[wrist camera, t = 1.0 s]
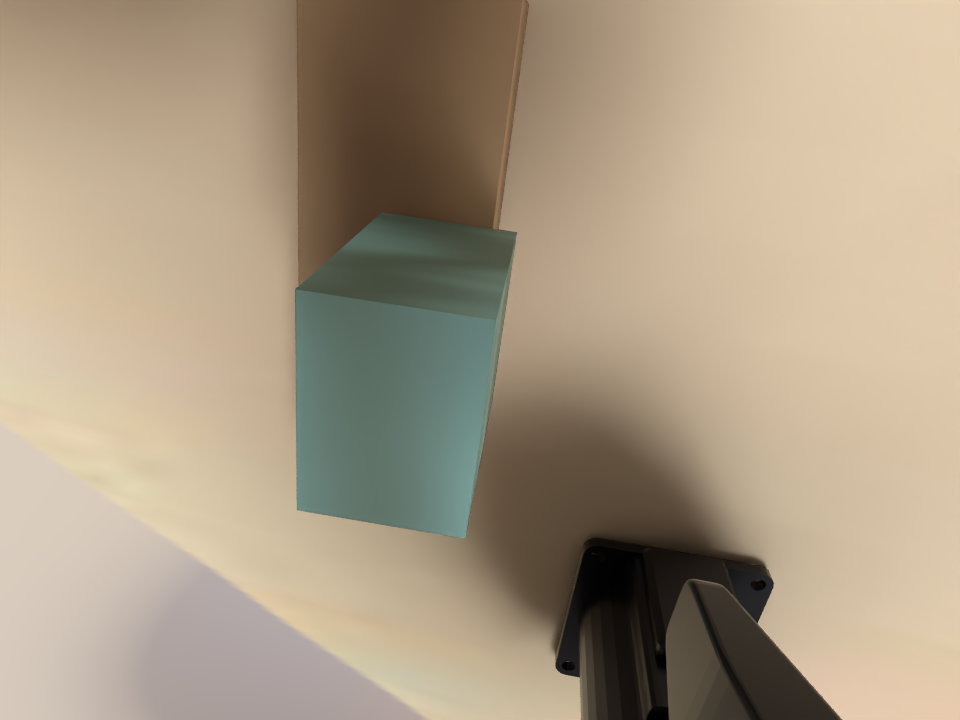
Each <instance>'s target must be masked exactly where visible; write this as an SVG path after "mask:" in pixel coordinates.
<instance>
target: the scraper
mask: <svg viewBox="0 0 960 720" xmlns="http://www.w3.org/2000/svg"><path fill="white" fill-rule="evenodd" d="M528 7H529V4H528V2H527V1H526V0H297V61H298V257H299V287H297V288H296V289H295V322H296V454H297V510H300V511H305V512H311V513H317V514H323V515H329V516H335V517H341V518H346V519H352V520H358V521H364V522H370V523H376V524H382V525H387V526H393V527H399V528H405V529H411V530H417V531H423V532H428V533H434V534H440V535H446V536H452V537H458V538H464V539H465V538H466V533H467V528H468V522H469V517H470V512H471V507H472V501H473V496H474V491H475V486H476V481H477V476H478V470H479V465H480V460H481V455H482V449H483V444H484V439H485V434H486V429H487V423H488V418H489V413H490V408H491V403H492V397H493V391H494V384H495V377H496V371H497V364H498V357H499V350H500V344H501V337H502V330H503V323H504V317H505V310H506V303H507V296H508V289H509V283H510V276H511V269H512V262H513V256H514V249H515V242H516V235H517V232H511V231H504V230H499V222H500V215H501V207H502V200H503V192H504V185H505V178H506V170H507V163H508V155H509V148H510V140H511V133H512V126H513V118H514V111H515V103H516V96H517V88H518V81H519V74H520V66H521V59H522V51H523V44H524V36H525V29H526V21H527V14H528Z"/></svg>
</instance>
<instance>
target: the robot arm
mask: <svg viewBox="0 0 960 720" xmlns="http://www.w3.org/2000/svg"><path fill="white" fill-rule="evenodd" d="M593 552H601V553H602V554H600V555H594V554H592V553H593ZM756 579H761V580H760V581H758V582H752V581H754V580H756ZM773 585H774V583H773V580H772V578H771V575H770V573H769V570H767V569H766V568H765V567H762V566H759V565H753V564H747V563H741V562H736V561H730V560H724V559H718V558H712V557H706V556H700V555H695V554H689V553H683V552H677V551H671V550H665V549H660V548H654V547H648V546H642V545H636V544H630V543H624V542H619V541H613V540H607V539H601V538H593V539H590V540H588V541H586V542H585V543H584V545H583V547H582V551H581V555H580V559H579V563H578V567H577V571H576V575H575V579H574V583H573V587H572V591H571V595H570V599H569V603H568V607H567V611H566V615H565V619H564V623H563V627H562V631H561V635H560V639H559V643H558V647H557V651H556V669H557V670H558V671H559V672H560V673H562V674H565V675H570V676H575V677H580V696H581V720H842V719H841V718H840V717H839V716H838V714H837V713H836V712H835V711H834V710H833V709H832V708H831V706H830V705H829V704H828V703H827V702H826V701H825V700H824V699H823V697H822V696H821V695H820V694H819V693H818V692H817V691H816V689H815V688H814V687H813V686H812V685H811V684H810V683H809V682H808V680H807V679H806V678H805V677H804V676H803V675H802V674H801V673H800V671H799V670H798V669H797V668H796V667H795V666H794V665H793V663H792V662H791V661H790V660H789V659H788V658H787V657H786V656H785V654H784V653H783V652H782V651H781V650H780V649H779V648H778V646H777V645H776V644H775V643H774V642H773V641H772V640H771V639H770V637H769V636H768V635H767V634H766V633H765V632H764V631H763V629H762V628H761V627H760V626H759V625H758V624H757V623H758V621H759V619H760V616H761V614H762V612H763V610H764V607H765V605H766V603H767V600H768V598H769V596H770V594H771V591H772V589H773ZM566 661H570V662H566Z"/></svg>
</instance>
